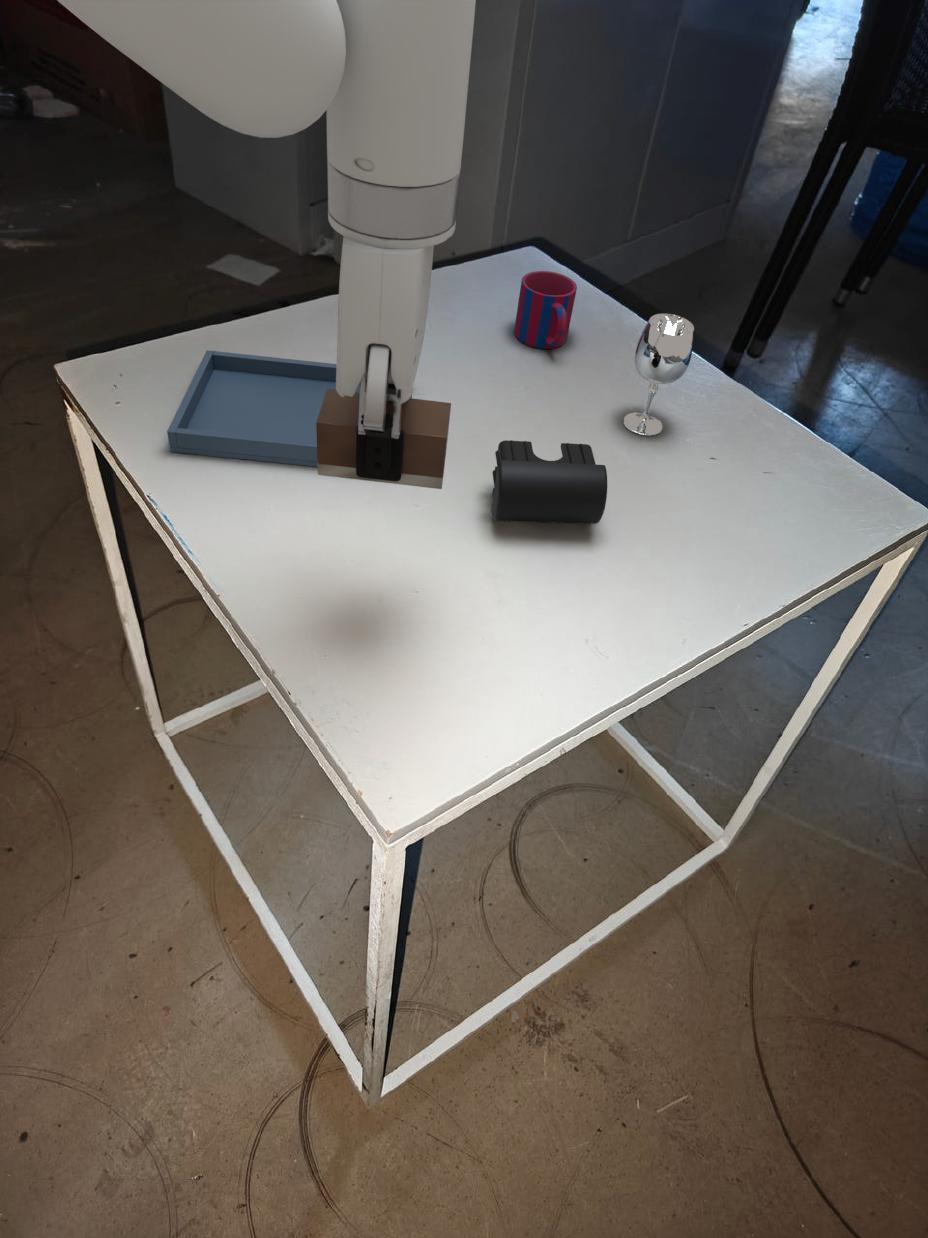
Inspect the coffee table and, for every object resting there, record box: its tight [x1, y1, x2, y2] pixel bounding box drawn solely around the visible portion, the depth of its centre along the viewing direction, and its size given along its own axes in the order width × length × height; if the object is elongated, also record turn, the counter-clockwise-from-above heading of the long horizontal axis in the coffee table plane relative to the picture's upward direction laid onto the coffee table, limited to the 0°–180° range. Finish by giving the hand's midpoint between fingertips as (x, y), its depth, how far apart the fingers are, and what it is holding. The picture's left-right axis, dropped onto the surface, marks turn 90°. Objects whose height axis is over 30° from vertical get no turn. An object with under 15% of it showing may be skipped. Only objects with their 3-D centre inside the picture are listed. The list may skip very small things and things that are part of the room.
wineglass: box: [622, 313, 695, 437], centre depth 92 cm, size 6×6×12 cm
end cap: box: [490, 439, 608, 525], centre depth 81 cm, size 10×7×7 cm
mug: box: [513, 270, 578, 350], centre depth 105 cm, size 7×10×7 cm
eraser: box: [316, 388, 452, 490], centre depth 62 cm, size 9×4×4 cm, turn 87°
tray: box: [166, 349, 360, 468], centre depth 90 cm, size 22×16×2 cm
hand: (383, 453), depth 63 cm, fingers closed on eraser, 4 cm apart
